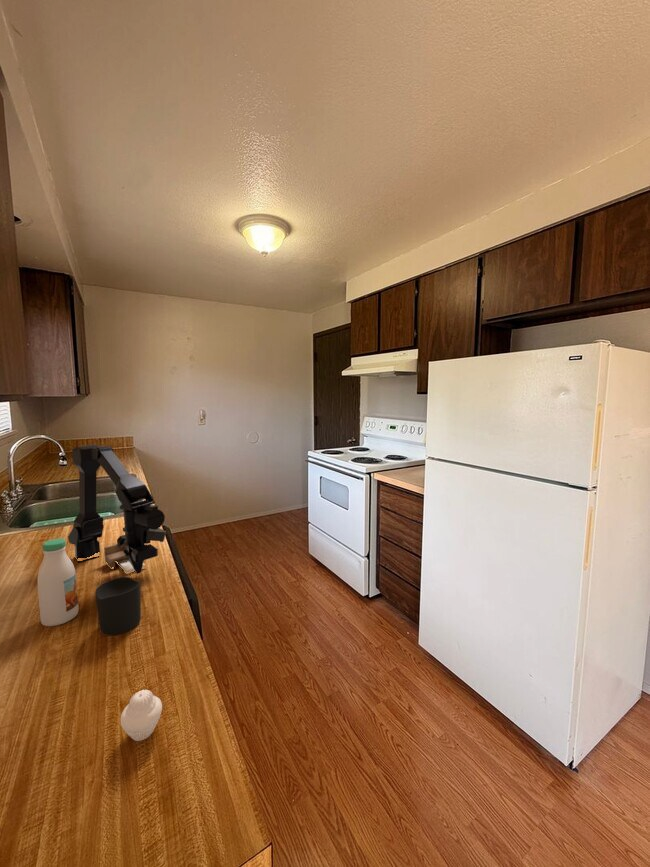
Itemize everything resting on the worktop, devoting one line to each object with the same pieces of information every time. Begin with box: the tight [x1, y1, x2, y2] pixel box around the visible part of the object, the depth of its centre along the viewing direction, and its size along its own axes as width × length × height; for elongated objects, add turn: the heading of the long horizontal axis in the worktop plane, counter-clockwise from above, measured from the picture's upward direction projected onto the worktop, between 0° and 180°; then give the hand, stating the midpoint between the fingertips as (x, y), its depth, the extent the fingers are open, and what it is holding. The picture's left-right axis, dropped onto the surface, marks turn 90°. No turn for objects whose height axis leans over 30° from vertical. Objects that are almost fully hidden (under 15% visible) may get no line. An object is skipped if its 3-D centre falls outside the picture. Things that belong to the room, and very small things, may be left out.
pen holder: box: [94, 576, 142, 636], centre depth 87 cm, size 9×9×10 cm
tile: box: [116, 557, 146, 573], centre depth 118 cm, size 6×12×2 cm, turn 45°
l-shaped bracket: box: [103, 543, 126, 568], centre depth 121 cm, size 10×6×6 cm, turn 135°
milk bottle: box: [37, 538, 79, 627], centre depth 90 cm, size 8×8×20 cm
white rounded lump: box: [120, 689, 163, 742], centre depth 59 cm, size 6×6×7 cm
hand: (138, 572), depth 111 cm, fingers closed
